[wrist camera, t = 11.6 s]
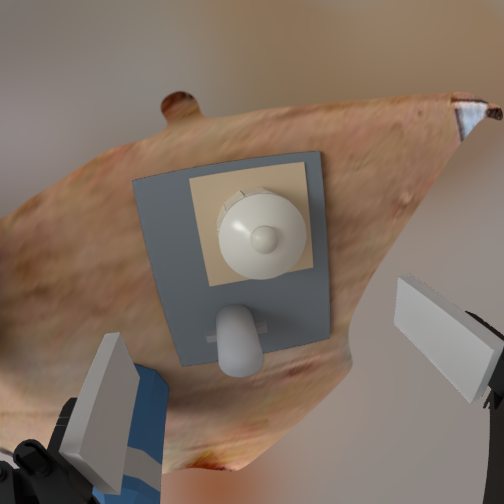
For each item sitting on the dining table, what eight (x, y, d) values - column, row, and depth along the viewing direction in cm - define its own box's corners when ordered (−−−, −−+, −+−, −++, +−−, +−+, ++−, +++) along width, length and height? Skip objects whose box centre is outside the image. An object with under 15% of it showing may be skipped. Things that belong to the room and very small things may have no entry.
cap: (201, 220, 31) (200, 235, 25) (262, 172, 30) (274, 176, 24) (249, 275, 33) (256, 299, 28) (306, 230, 32) (325, 246, 27)
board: (182, 361, 38) (179, 410, 29) (134, 179, 30) (107, 190, 21) (326, 333, 39) (353, 375, 31) (315, 151, 31) (352, 151, 23)
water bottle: (128, 352, 36) (85, 520, 13) (182, 386, 39) (179, 548, 16) (99, 384, 37) (58, 526, 14) (148, 414, 40) (134, 553, 17)
